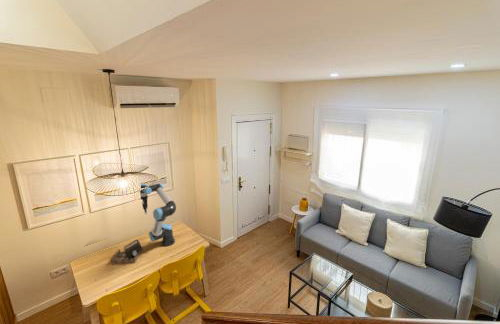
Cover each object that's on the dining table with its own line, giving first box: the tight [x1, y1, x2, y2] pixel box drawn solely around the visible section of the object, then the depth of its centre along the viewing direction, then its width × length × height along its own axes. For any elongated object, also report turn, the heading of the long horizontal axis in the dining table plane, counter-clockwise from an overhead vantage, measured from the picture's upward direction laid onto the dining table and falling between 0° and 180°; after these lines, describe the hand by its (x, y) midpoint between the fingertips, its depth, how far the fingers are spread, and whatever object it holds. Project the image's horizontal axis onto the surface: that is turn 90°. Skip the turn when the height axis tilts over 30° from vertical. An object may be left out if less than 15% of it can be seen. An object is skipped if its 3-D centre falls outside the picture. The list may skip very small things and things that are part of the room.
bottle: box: [123, 239, 143, 258], centre depth 265 cm, size 8×16×25 cm
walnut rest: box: [110, 249, 142, 265], centre depth 262 cm, size 24×18×5 cm
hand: (146, 213), depth 289 cm, fingers closed
